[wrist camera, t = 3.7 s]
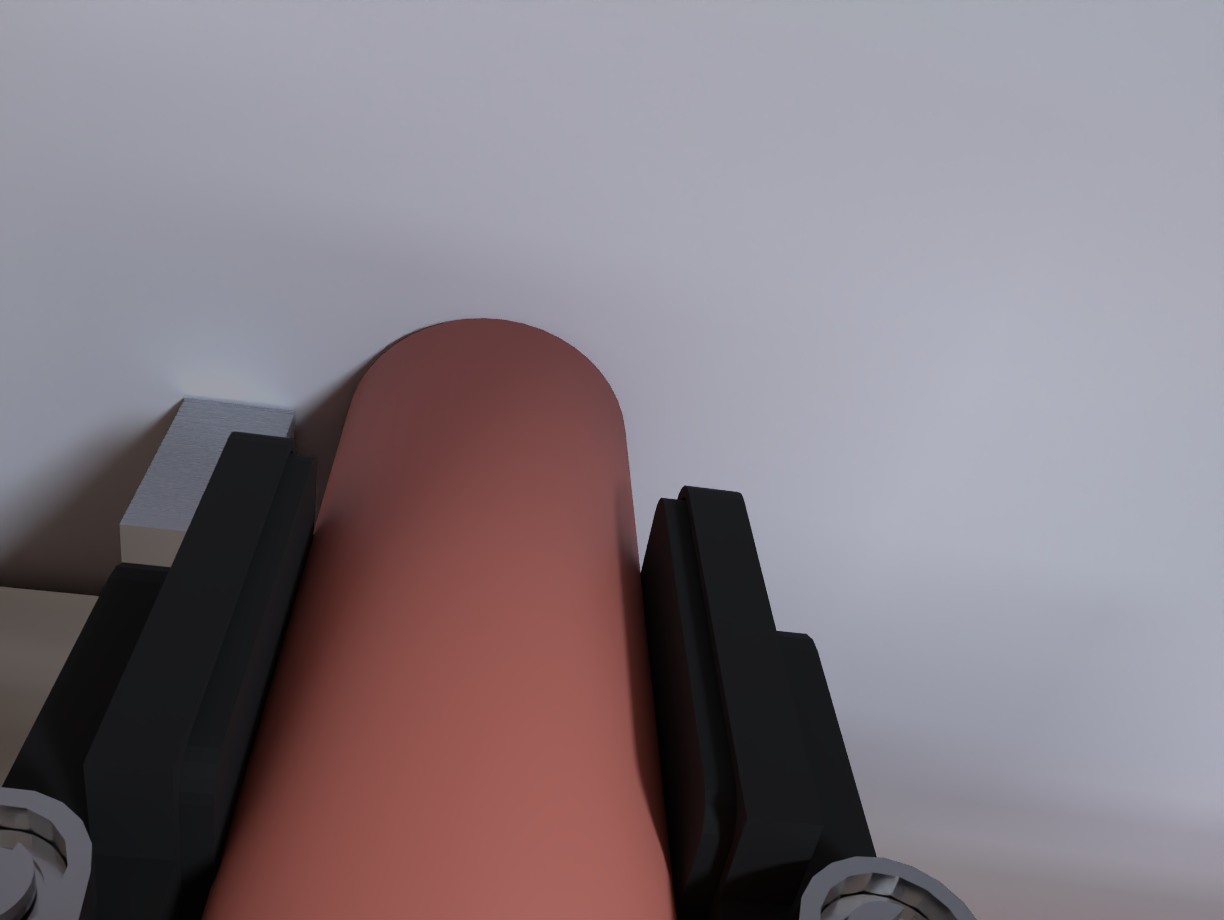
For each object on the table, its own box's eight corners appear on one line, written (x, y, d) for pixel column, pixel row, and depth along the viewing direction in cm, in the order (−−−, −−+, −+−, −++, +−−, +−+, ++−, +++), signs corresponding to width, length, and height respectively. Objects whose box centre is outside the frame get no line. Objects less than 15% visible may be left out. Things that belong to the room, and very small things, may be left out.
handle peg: (649, 339, 13) (843, 1555, 4) (600, 567, 14) (672, 1765, 6) (354, 299, 12) (-72, 1560, 4) (339, 539, 14) (20, 1783, 6)
